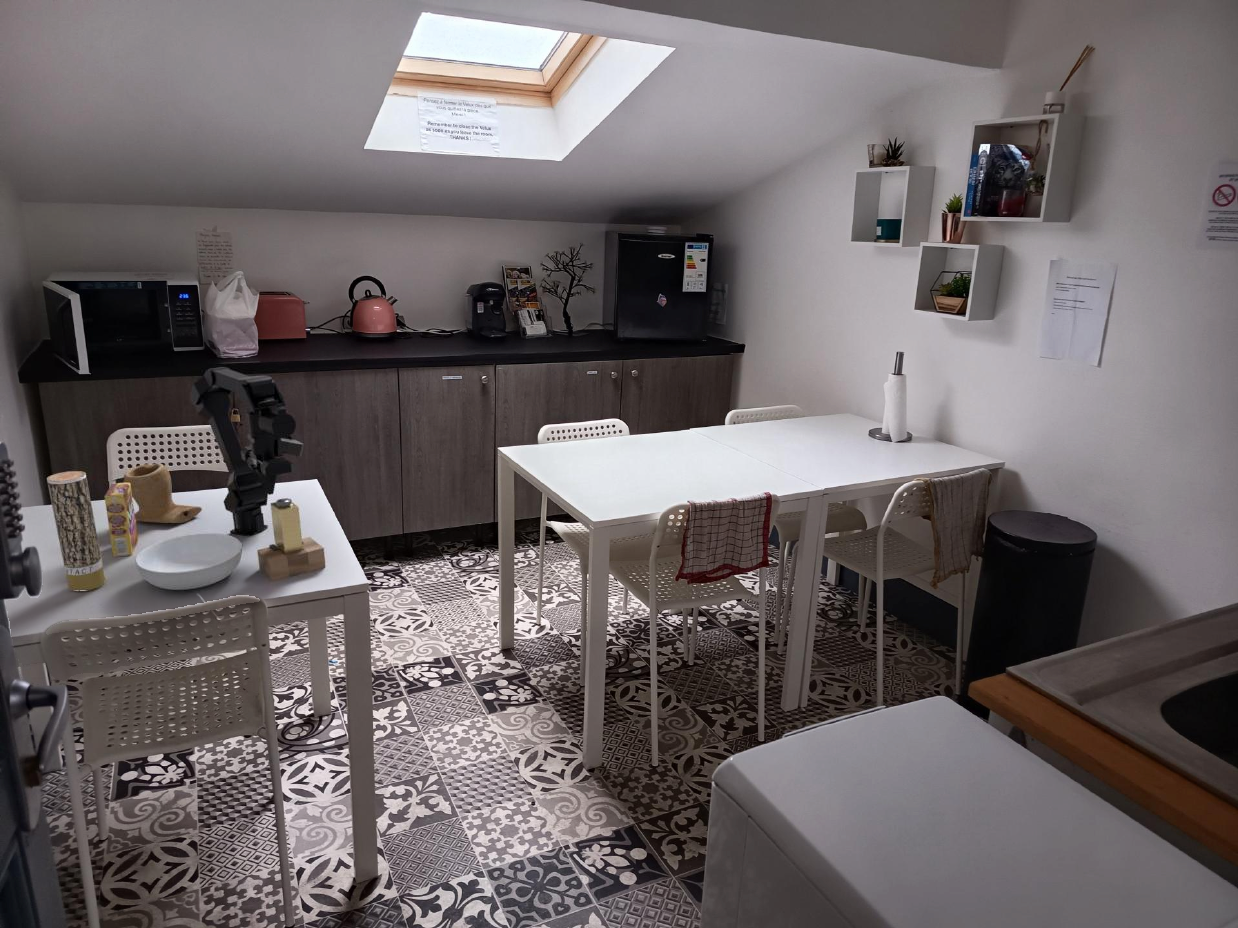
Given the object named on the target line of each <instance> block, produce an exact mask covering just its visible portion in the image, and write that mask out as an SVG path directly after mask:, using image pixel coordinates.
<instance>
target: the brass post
mask: <svg viewBox="0 0 1238 928" xmlns="http://www.w3.org/2000/svg"><path fill="white" fill-rule="evenodd" d="M299 509H300V508H299V506H298V505H297V504H295V503H294V502H293V501H292V499H291V498H288V497H287V498H280V499H277V500H276V501H275V502H271V503H270V510H271V519H272V521H271V522H272V526H273V527H272V530H273V536H274V545H276V546H277V547H278V548H279V551H280V552H281V553H283V554H284V555H286V554H290V553H294V552H298V551H302V550H303V545H302V539H303V538H302V529H301V518H300V510H299Z"/></svg>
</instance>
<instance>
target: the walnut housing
mask: <svg viewBox="0 0 1238 928" xmlns="http://www.w3.org/2000/svg"><path fill="white" fill-rule="evenodd" d="M302 545H303V550H302V551H298V552H294V553H290V554H286V555H284V554H283V553H281V552H280V551H279V548H278V547H277V546H276V545H275V543H273V544H269V545H268V547H263V548H261V549H257V559H258V566H259V570H260V571H261V572H262V573H263V575H265V576H266V578H268V579H269V580H270V581H271V582H277V581H280V580H284V579H287V578H291V577H294V576H298V575H302V574H306V573H308V572H313V571H316V570H320V569H323V568H326V566H327V565H326V558H325V548H324V547H323V546H322V545H320V544H319V543H318V542H317V541H316V540H315V539H313V538H312V537H311V536H310V537H304V538H302Z"/></svg>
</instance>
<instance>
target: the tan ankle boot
mask: <svg viewBox="0 0 1238 928" xmlns="http://www.w3.org/2000/svg"><path fill="white" fill-rule="evenodd" d="M123 483H130V484H131V492H132V499H133V501H135V503H136V504H137V506H138V511H136V512H134V513H135V520H136V522H142V523H143V522H144V523H156V524H157V523H159V524H160V523H161V524H179V523H180V524H181V523H186V522H188V521H190V520H192V519H193V518H195V517H197V516H198V515H199V514H200V513H201V512H202V511H203V508H202V506H192V505H184V504H177V503H176V504H175V502H174V500H173V494H172V489H173V487H172V486H173V485H172V478H171V474H170V471H169V469H168V468H167V467H166V466H165V465H164V464H162V463H159V462H156V463H153V464H148V463H147V464H141V465H138V466H135V467H133V468H130V469H129V470H128V471H126V472H125V473H124V474H123Z"/></svg>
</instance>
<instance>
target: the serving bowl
mask: <svg viewBox="0 0 1238 928" xmlns="http://www.w3.org/2000/svg"><path fill="white" fill-rule="evenodd" d="M242 555H243V544H242V542H241V541H240V540H239V539H238V538H237V537H234V536H231V535H229V534H224V533H216V532H215V533H214V532H213V533H212V532H211V533H210V532H205V533H204V532H202V533H192V534H191V533H190V534H184V535H179V536H174V537H171V538H165V539H163V540H161V541H157V542H155V543H152V544H150V545H148V546H147V547H145V548H143V549H142V550H140V552H139V553H138V554H137V555H136V557H135V565H136V568H137V570H138V572H139V574H140V575H141V577H142V578H143V579H144V580H145V581H146V582H148V583H149V584H151V585H153V586H155V587H157V588H160V589H165V590H172V591H175V590H176V591H181V590H183V591H184V590H191V589H199V588H203V587H204V588H205V587H206V586H210V585H213V584H216V583H217V582H220V581H222V580H224V579H225V578H227V577H228V576H229V575H231V574H232V573H233V572H234V571H235V570H236V569H237V567H238V566H239V564H240V562H241V558H242Z"/></svg>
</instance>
